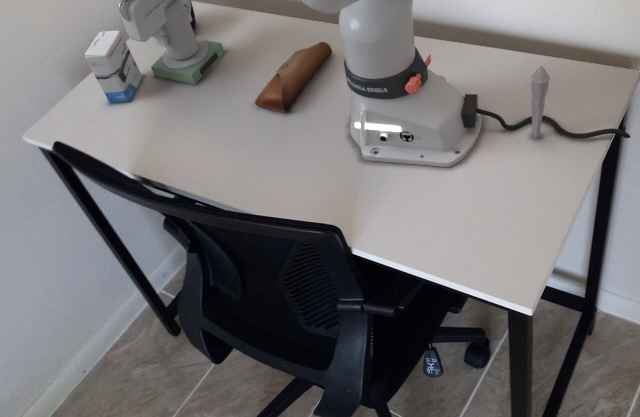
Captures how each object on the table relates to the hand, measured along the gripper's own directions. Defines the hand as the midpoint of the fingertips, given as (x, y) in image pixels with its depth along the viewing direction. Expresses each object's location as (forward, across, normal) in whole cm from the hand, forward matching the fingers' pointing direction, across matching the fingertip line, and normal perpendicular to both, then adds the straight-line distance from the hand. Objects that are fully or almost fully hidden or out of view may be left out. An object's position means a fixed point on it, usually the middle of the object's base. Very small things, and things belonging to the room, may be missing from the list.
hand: (177, 33), depth 131 cm
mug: (+8, +10, +11) cm, 17 cm away
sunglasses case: (+8, +1, -26) cm, 27 cm away
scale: (+8, 0, 0) cm, 8 cm away
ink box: (+8, -11, +9) cm, 16 cm away
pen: (+8, -1, -73) cm, 73 cm away
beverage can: (+5, 0, 0) cm, 5 cm away
